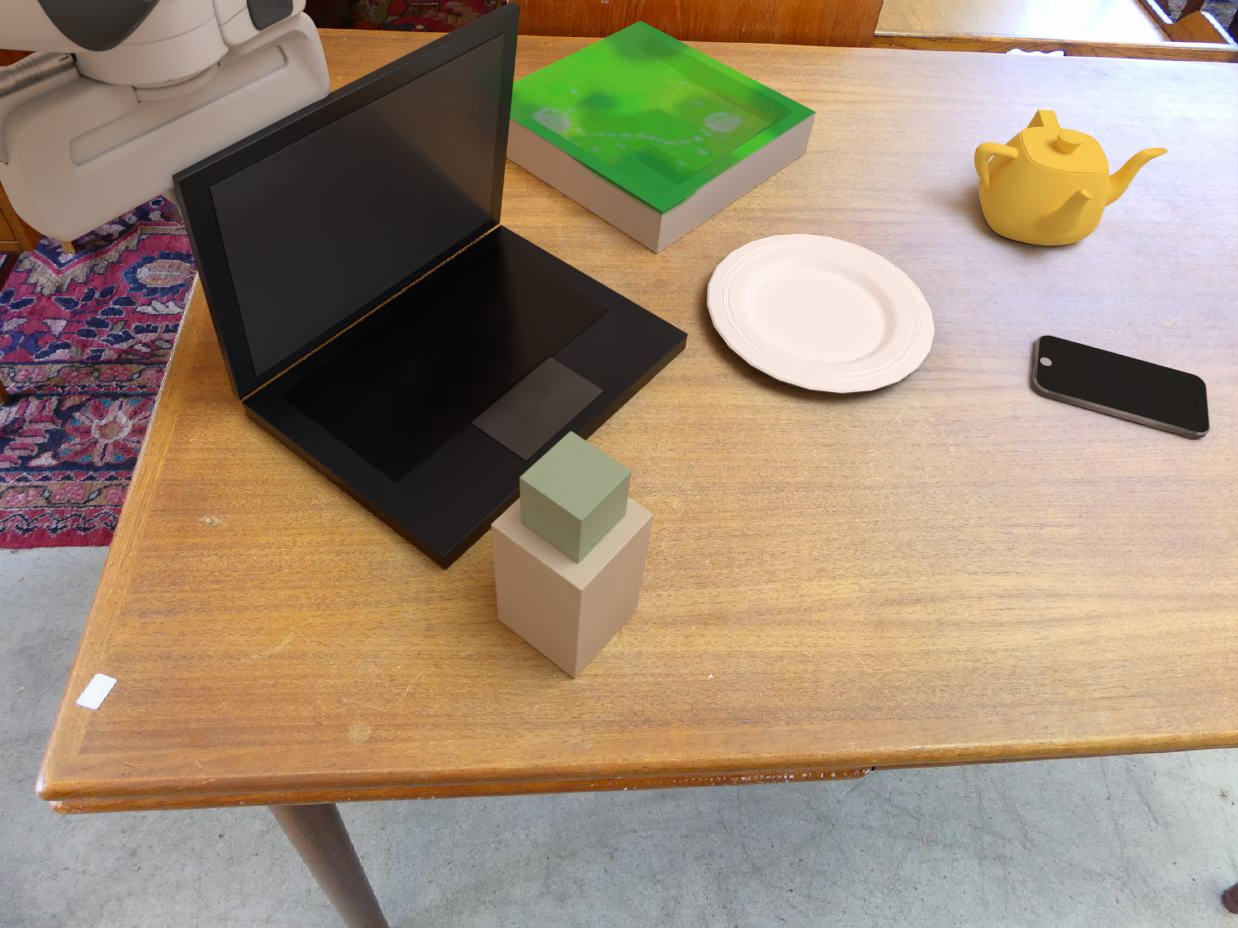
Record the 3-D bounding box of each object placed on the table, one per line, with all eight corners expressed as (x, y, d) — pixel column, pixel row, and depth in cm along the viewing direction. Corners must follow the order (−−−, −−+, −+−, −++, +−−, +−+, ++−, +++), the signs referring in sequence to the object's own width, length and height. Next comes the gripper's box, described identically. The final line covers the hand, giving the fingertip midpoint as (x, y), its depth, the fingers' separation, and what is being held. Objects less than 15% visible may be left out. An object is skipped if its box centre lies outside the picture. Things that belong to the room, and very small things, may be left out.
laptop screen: (521, 6, 69) (513, 0, 69) (179, 181, 54) (169, 173, 54) (501, 224, 87) (494, 219, 87) (240, 401, 72) (233, 394, 72)
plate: (659, 289, 86) (662, 274, 84) (827, 224, 94) (832, 209, 92) (800, 440, 76) (805, 425, 74) (975, 353, 84) (983, 338, 82)
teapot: (1047, 279, 91) (1095, 195, 83) (940, 209, 97) (976, 124, 89) (1120, 228, 97) (1172, 145, 89) (1015, 165, 103) (1055, 82, 95)
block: (578, 564, 53) (581, 520, 50) (520, 521, 55) (519, 477, 51) (625, 515, 55) (631, 470, 52) (568, 476, 57) (570, 430, 53)
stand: (574, 679, 62) (581, 590, 52) (497, 619, 64) (490, 523, 54) (637, 608, 65) (654, 513, 56) (562, 554, 67) (566, 454, 58)
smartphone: (1038, 330, 85) (1206, 376, 83) (1035, 336, 85) (1202, 381, 83) (1033, 387, 80) (1211, 437, 78) (1029, 393, 81) (1206, 443, 79)
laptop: (685, 348, 81) (688, 332, 80) (445, 570, 66) (443, 556, 64) (501, 239, 89) (501, 223, 87) (246, 416, 73) (240, 400, 72)
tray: (637, 62, 110) (640, 21, 106) (805, 153, 101) (816, 112, 97) (482, 141, 98) (479, 98, 94) (657, 254, 89) (662, 211, 85)
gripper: (-14, 115, 43) (98, 328, 54) (325, -29, 53) (361, 174, 64) (-88, 63, 45) (35, 279, 56) (253, -66, 55) (300, 137, 66)
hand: (211, 222), depth 60 cm, fingers closed, pressing on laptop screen
